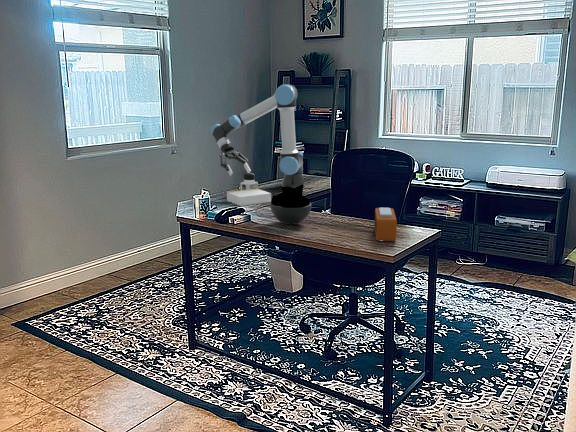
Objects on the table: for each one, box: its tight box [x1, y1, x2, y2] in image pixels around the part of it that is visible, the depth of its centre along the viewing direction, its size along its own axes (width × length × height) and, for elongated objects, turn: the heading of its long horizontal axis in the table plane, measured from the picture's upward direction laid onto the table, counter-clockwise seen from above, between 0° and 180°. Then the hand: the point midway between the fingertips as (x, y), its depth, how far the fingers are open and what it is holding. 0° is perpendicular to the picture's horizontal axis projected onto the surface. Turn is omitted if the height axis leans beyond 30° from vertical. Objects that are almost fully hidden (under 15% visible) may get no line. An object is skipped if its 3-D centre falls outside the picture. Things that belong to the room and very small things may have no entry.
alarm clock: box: [374, 207, 398, 242], centre depth 254 cm, size 24×8×11 cm, turn 173°
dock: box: [226, 187, 272, 207], centre depth 322 cm, size 20×16×5 cm
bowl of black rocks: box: [269, 184, 313, 225], centre depth 272 cm, size 20×20×19 cm
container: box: [239, 172, 259, 190], centre depth 339 cm, size 8×8×13 cm
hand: (240, 173), depth 342 cm, fingers open, 13 cm apart
